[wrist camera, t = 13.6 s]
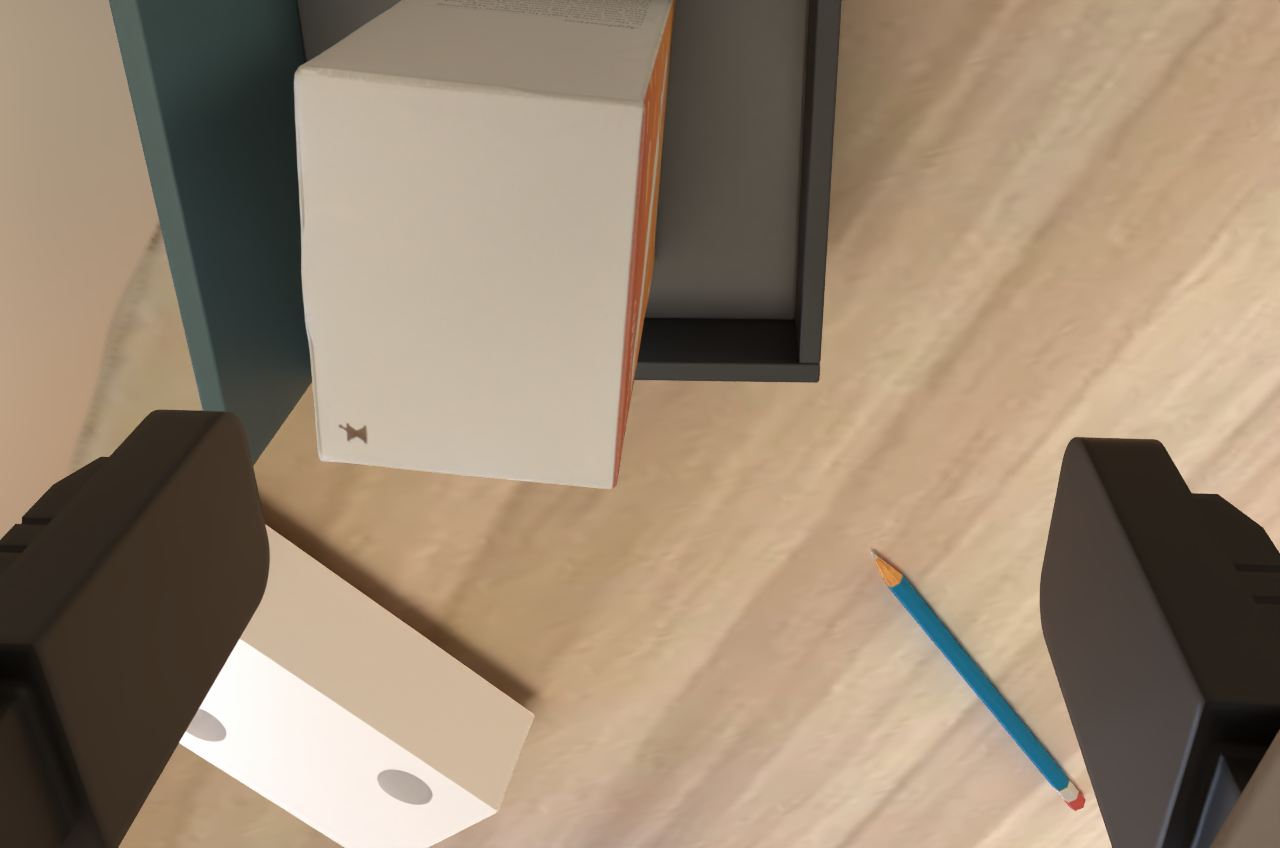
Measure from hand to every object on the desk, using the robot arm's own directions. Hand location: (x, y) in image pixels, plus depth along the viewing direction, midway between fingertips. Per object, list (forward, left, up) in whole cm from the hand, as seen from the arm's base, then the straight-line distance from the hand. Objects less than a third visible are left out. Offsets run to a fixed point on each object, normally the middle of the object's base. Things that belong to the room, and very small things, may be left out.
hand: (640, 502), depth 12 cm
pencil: (+28, +12, -31) cm, 43 cm away
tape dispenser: (+28, -18, -31) cm, 45 cm away
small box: (+2, -4, -24) cm, 24 cm away
